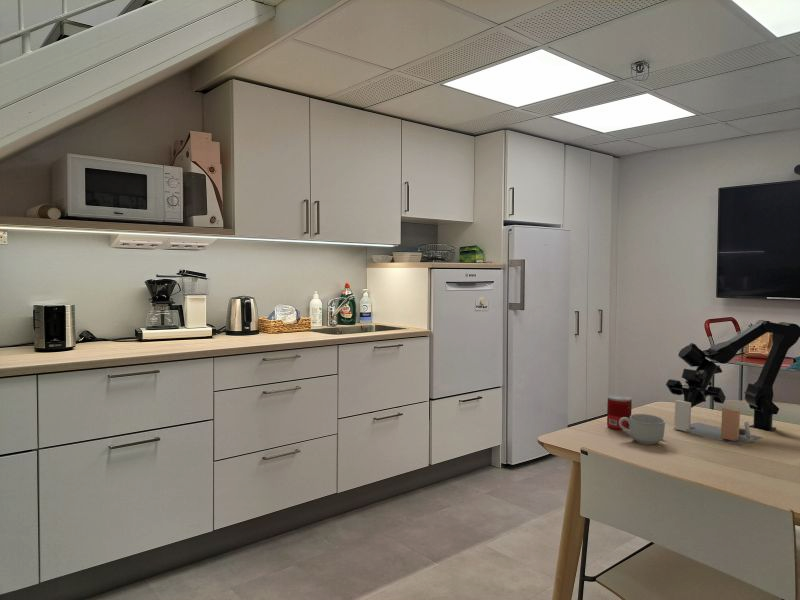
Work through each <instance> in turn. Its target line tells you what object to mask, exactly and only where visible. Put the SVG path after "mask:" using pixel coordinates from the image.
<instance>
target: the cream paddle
mask: <svg viewBox="0 0 800 600" xmlns="http://www.w3.org/2000/svg"><path fill="white" fill-rule="evenodd" d="M674 402H675V403H674V420H673V421H674V424H673V425H674V427H673V428H674V429H673V430H675V429H678V430H677V431H679V430H682V431H681V432H683V431H688V430H690V424H692V423H691V422H692V421H691V420H692V419H691V416H692V415H691V414H692V408H691V403H690V402H685V401H684V400H678V399H676V400H674Z"/></svg>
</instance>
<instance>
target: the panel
mask: <svg viewBox="0 0 800 600" xmlns="http://www.w3.org/2000/svg"><path fill="white" fill-rule="evenodd" d="M749 426H750V423H749V421H745V422H744V427H745V429H744V428H741V427H739V439H738V440H735V441H732V440H728V439H724V438H721V436H722V435H721V427H719V426H715V425H711V424H710V425H709V424H706V423H702V422H694V423H690V430H688V431H682V430H678V429H674V427H673V428H672V430H675V431H680V432H684V433H687V434H692V435H695V436H701V437H703V438H708V439H713V440H716V441H721V442H724V443H729V444H733V445H737V446H741V445H744V444H747V443H752V442H754V441H756V440H760V439H762V438H763V436H758V435H754V434H751V431H750V430H751V429H750V428H751V427H749ZM763 439H764V438H763Z"/></svg>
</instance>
